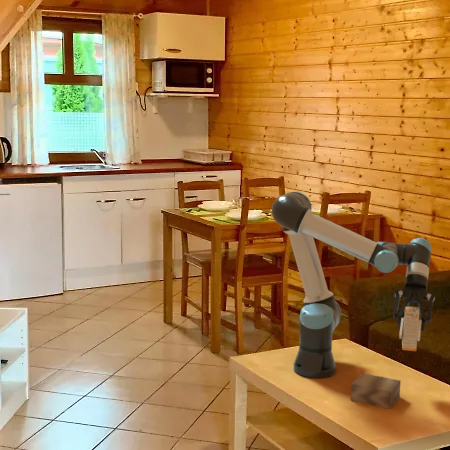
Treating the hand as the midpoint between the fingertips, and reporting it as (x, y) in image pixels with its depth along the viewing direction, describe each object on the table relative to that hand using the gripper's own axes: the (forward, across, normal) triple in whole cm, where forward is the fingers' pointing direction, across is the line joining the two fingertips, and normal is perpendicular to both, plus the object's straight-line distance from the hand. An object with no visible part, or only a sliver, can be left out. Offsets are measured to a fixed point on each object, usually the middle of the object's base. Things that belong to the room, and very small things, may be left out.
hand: (409, 337), depth 234 cm
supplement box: (+1, 0, -6) cm, 6 cm away
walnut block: (+20, +9, -8) cm, 23 cm away
